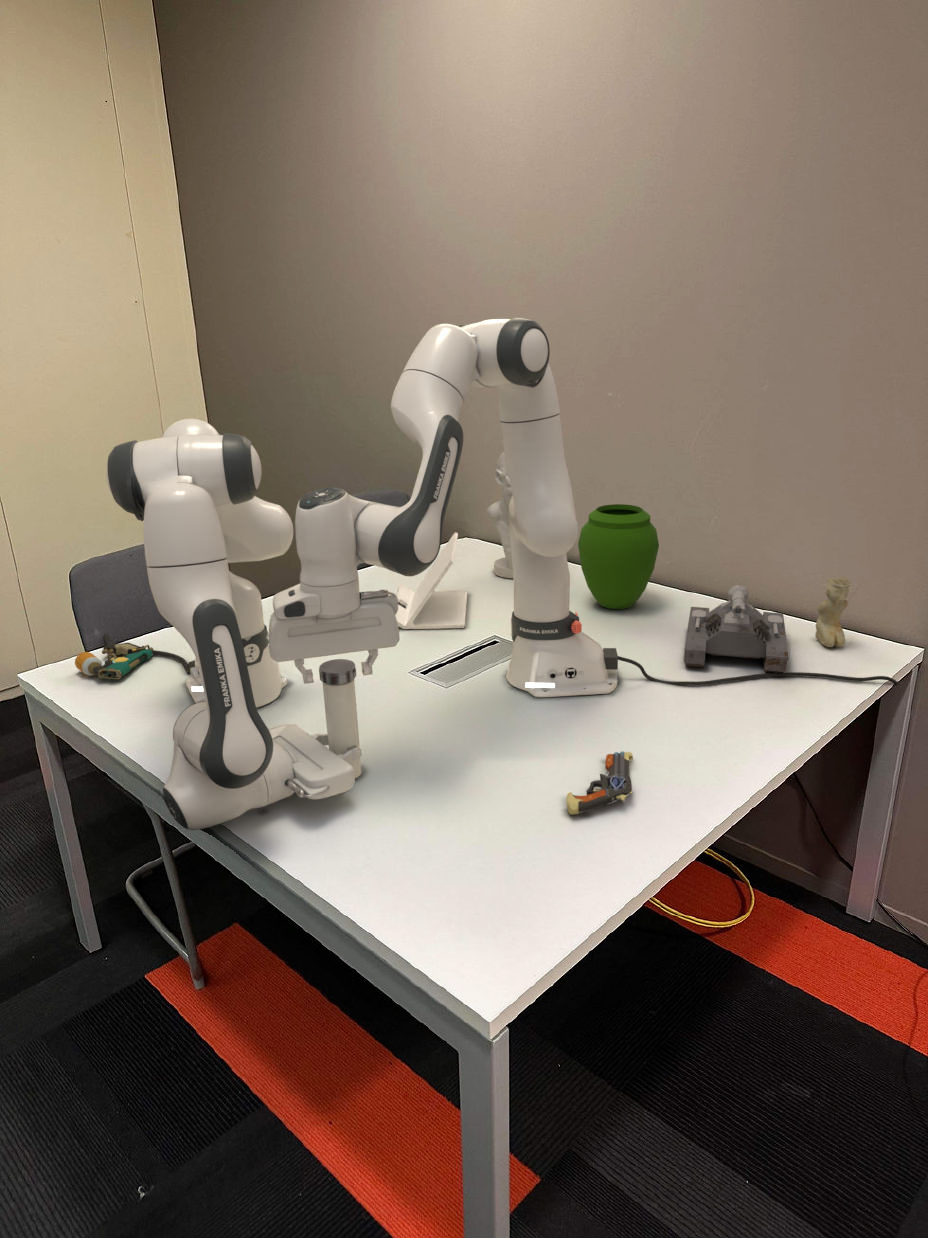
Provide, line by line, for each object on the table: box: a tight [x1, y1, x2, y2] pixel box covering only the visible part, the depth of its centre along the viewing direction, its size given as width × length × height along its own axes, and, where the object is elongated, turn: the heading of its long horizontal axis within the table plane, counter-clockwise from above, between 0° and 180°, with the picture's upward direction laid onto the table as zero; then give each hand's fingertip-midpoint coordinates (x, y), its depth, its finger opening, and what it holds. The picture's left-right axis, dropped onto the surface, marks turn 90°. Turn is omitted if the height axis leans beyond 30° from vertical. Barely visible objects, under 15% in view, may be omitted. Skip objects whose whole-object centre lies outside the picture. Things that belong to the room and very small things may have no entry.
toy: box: [683, 584, 789, 673], centre depth 182 cm, size 25×20×15 cm
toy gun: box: [565, 751, 634, 815], centre depth 135 cm, size 3×19×10 cm
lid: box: [318, 658, 357, 685], centre depth 135 cm, size 6×6×2 cm
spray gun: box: [74, 642, 155, 680], centre depth 186 cm, size 4×17×15 cm
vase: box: [577, 503, 660, 610], centre depth 210 cm, size 20×20×24 cm
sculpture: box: [814, 576, 852, 648], centre depth 185 cm, size 6×7×15 cm
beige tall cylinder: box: [322, 679, 362, 779], centre depth 139 cm, size 5×5×19 cm
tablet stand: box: [395, 531, 468, 630], centre depth 211 cm, size 18×25×17 cm
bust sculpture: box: [485, 451, 513, 579], centre depth 231 cm, size 16×24×35 cm
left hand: (348, 743), depth 141 cm, fingers closed on beige tall cylinder, 5 cm apart
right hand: (338, 678), depth 136 cm, fingers open, 8 cm apart
